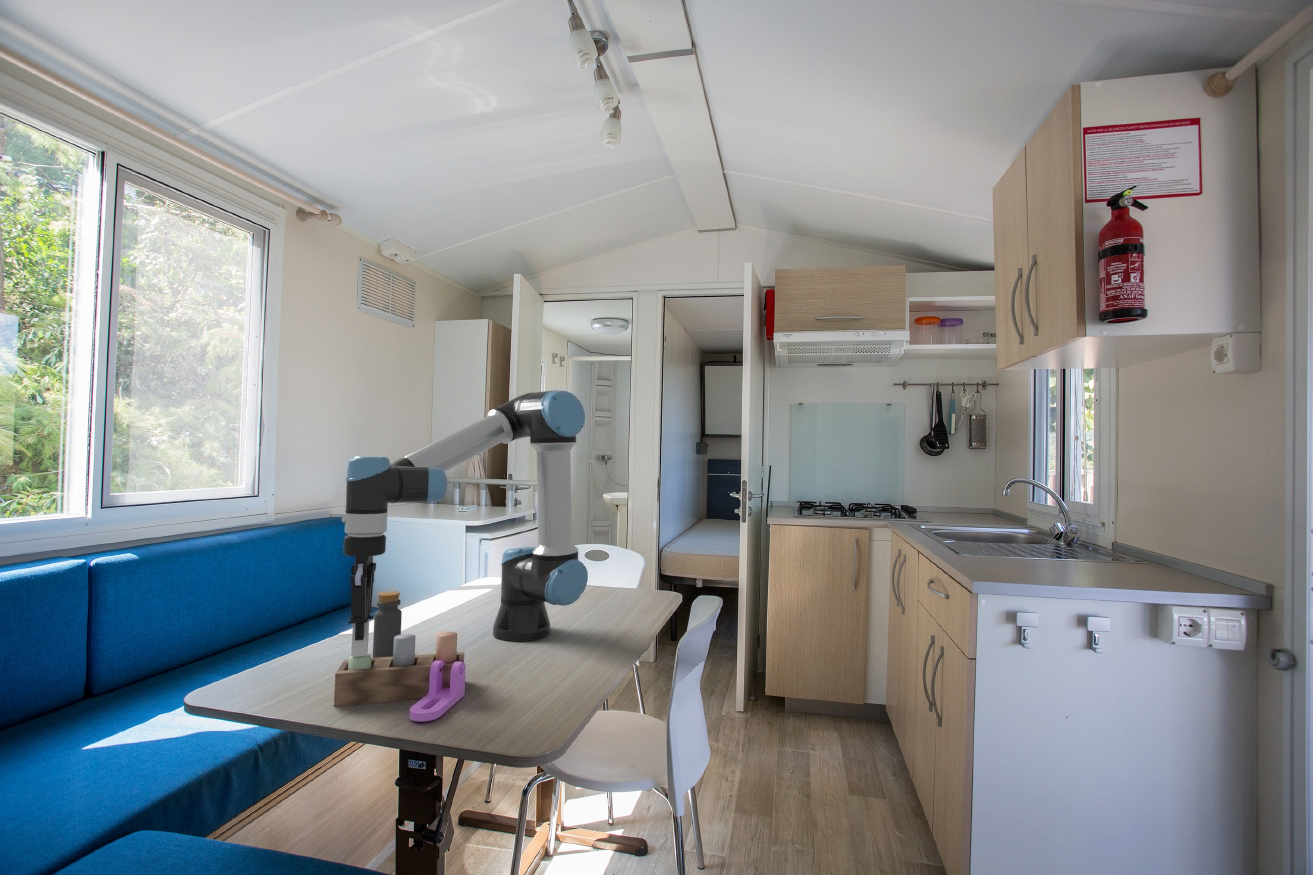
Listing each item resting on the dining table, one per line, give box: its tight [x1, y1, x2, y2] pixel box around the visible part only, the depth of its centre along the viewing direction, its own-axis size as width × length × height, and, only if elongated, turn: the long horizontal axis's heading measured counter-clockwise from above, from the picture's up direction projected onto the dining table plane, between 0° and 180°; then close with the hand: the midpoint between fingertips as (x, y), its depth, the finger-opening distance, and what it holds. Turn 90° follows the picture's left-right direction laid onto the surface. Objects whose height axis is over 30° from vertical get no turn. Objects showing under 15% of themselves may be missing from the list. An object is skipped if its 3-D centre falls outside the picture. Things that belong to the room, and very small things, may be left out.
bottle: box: [372, 590, 403, 658], centre depth 139 cm, size 6×6×15 cm
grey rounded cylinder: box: [393, 633, 417, 667], centre depth 119 cm, size 4×4×6 cm
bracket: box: [409, 661, 466, 722], centre depth 112 cm, size 13×6×7 cm, turn 174°
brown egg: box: [435, 631, 458, 663], centre depth 122 cm, size 4×4×6 cm
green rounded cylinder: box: [348, 652, 372, 670], centre depth 117 cm, size 4×4×6 cm
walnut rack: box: [333, 651, 465, 707], centre depth 119 cm, size 23×8×6 cm, turn 107°
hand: (359, 654), depth 117 cm, fingers closed
